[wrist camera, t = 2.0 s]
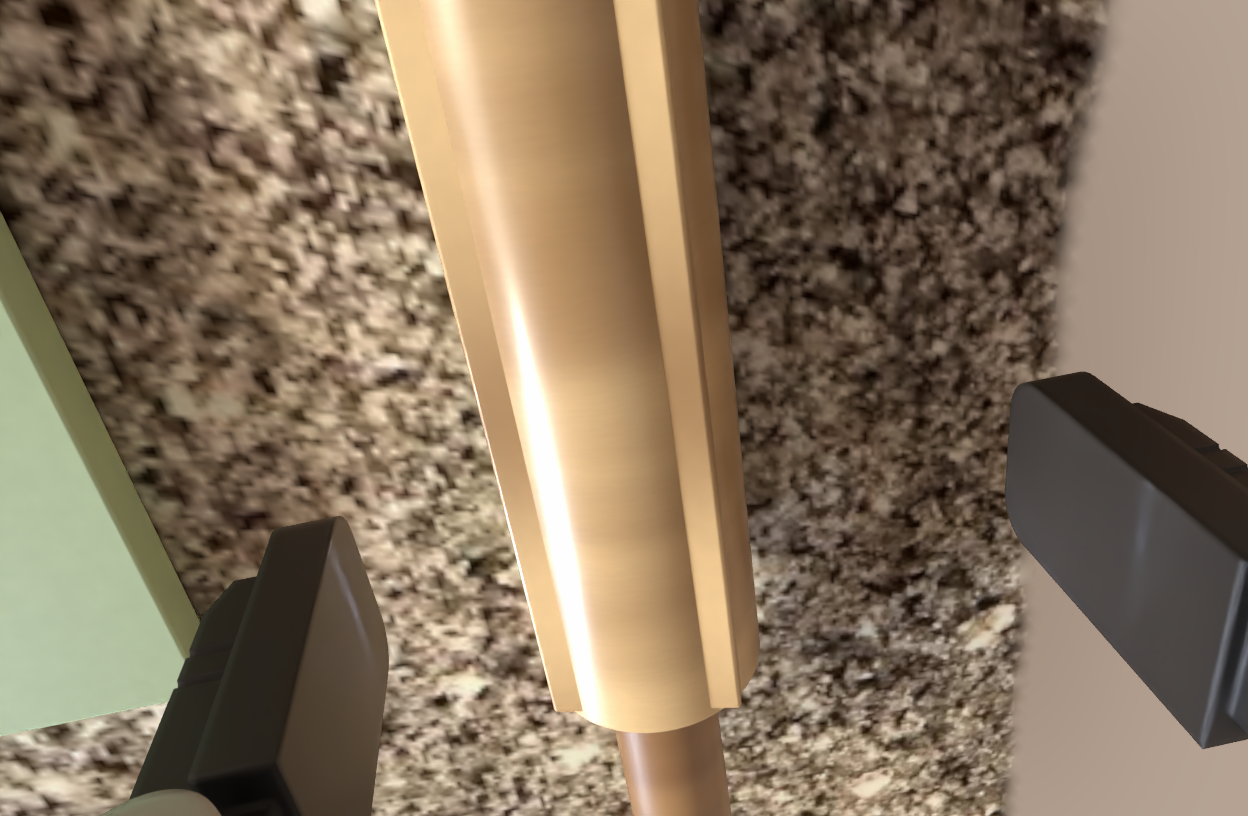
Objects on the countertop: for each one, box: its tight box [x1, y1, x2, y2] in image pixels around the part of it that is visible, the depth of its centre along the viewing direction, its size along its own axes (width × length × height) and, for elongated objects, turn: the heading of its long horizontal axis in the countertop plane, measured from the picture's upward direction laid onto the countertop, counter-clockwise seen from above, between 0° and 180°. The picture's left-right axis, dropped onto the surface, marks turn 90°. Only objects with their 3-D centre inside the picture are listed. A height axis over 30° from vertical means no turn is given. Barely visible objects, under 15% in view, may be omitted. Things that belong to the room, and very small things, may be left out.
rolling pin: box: [375, 0, 760, 816], centre depth 16 cm, size 28×5×5 cm, turn 8°
